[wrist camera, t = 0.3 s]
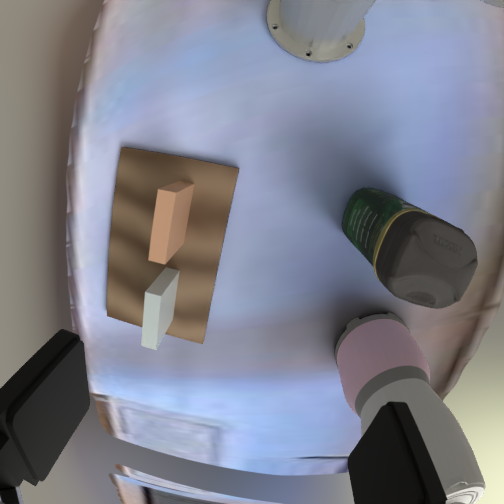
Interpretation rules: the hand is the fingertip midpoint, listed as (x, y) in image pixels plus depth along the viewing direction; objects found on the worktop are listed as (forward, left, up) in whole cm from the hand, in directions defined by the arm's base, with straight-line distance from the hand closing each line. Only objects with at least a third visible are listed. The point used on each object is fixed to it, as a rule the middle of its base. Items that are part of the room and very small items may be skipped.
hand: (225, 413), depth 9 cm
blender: (+18, +22, -34) cm, 44 cm away
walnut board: (+9, -12, -34) cm, 37 cm away
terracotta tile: (+3, -10, -33) cm, 34 cm away
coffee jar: (-2, +15, -34) cm, 37 cm away
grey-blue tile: (+15, -10, -33) cm, 37 cm away
